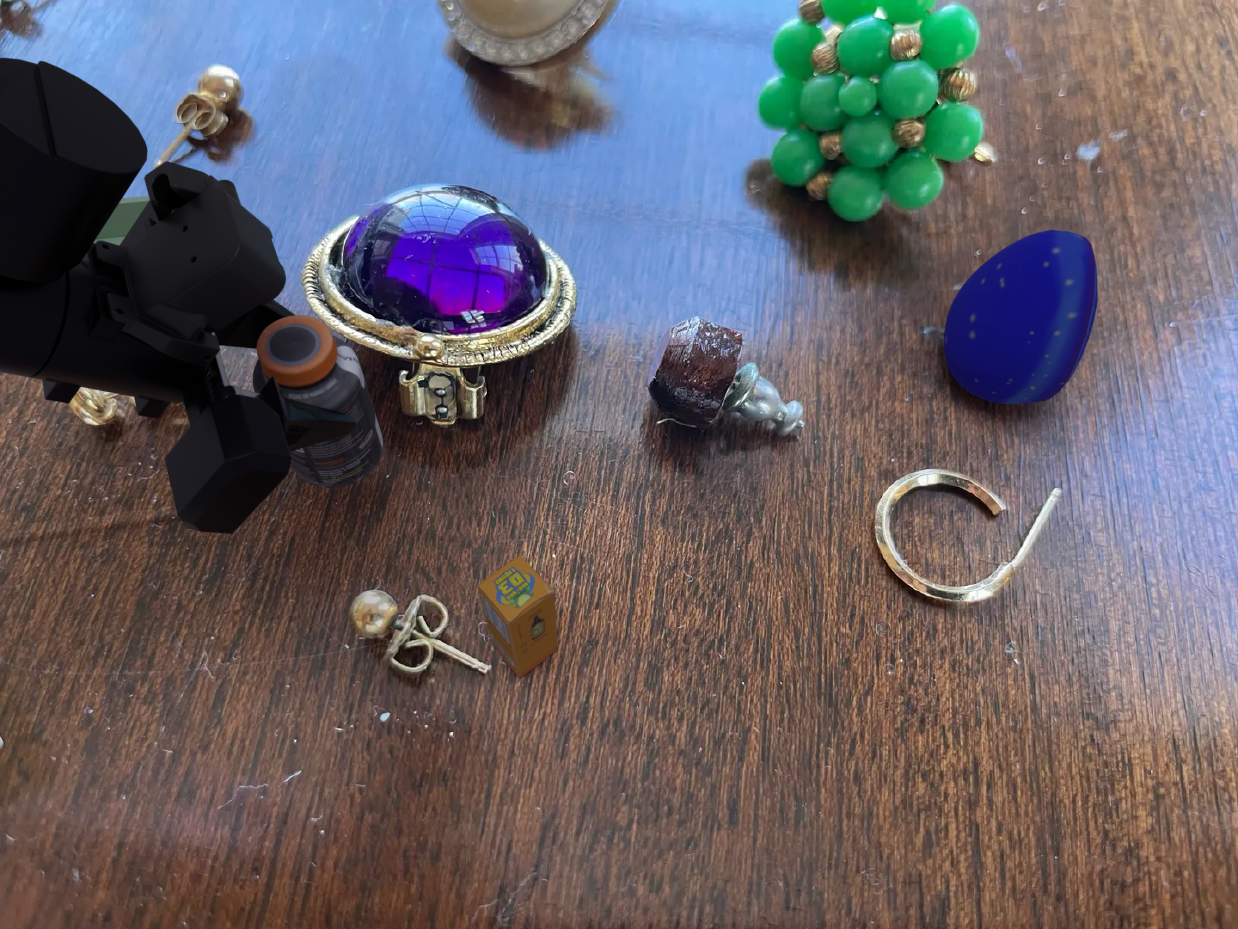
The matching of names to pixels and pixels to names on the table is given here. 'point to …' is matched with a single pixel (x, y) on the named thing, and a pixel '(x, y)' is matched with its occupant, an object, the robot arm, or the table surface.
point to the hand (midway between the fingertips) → (337, 385)
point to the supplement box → (520, 615)
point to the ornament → (1024, 319)
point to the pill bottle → (322, 397)
